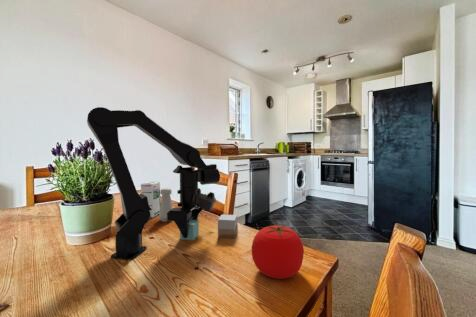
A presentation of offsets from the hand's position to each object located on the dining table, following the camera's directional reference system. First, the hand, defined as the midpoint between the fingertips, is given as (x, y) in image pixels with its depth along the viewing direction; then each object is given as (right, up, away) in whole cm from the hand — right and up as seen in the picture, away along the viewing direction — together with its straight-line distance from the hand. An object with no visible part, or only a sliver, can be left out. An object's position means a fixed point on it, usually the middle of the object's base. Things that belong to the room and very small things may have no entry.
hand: (189, 233), depth 67 cm
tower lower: (+12, -1, +2) cm, 13 cm away
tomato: (+25, -2, -20) cm, 32 cm away
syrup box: (-22, -1, +23) cm, 32 cm away
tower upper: (+12, +2, +2) cm, 13 cm away
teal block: (0, -1, 0) cm, 1 cm away
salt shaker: (-13, -1, +17) cm, 21 cm away
